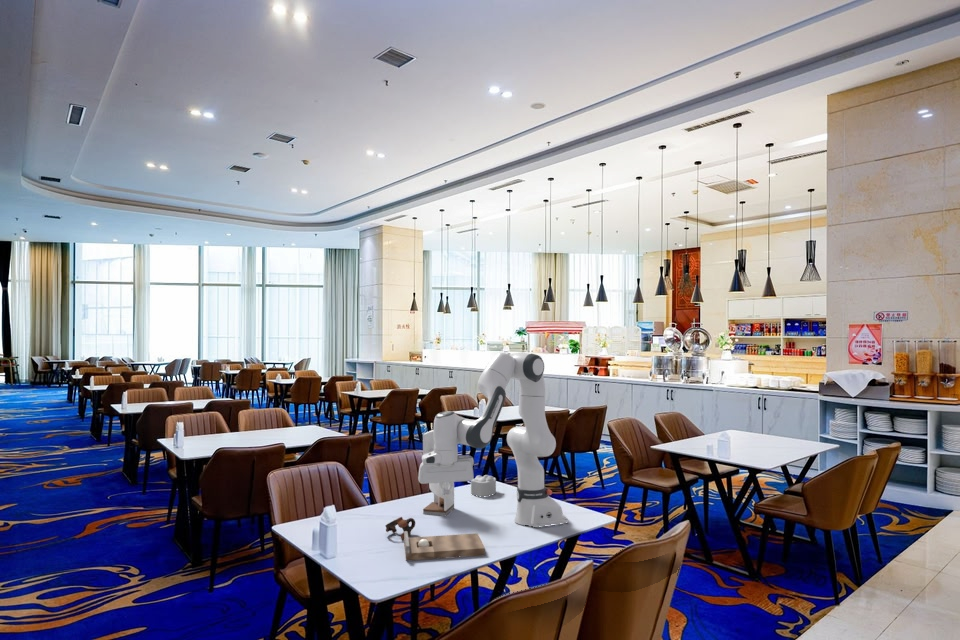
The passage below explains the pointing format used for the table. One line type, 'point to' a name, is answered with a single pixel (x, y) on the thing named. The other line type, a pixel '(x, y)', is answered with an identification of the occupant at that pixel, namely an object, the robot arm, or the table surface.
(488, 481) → the lumpy-topped squat cylinder
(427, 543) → the ball
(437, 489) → the white shelf tower
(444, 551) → the board
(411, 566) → the table surface
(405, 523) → the brown looped piece
